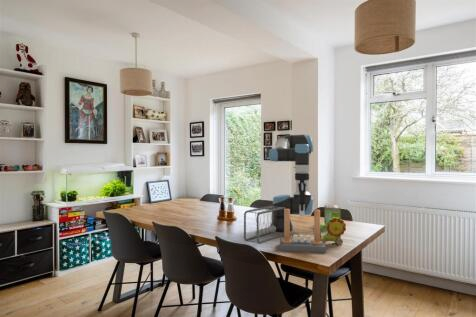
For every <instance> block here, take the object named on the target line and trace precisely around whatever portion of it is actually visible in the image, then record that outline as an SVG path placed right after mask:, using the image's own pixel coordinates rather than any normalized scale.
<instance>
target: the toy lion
mask: <svg viewBox="0 0 476 317" xmlns="http://www.w3.org/2000/svg"><path fill="white" fill-rule="evenodd" d="M346 226H347V224H346V223H345V221H344V220H343V219H341V217H340V218H335V217H332V218H330V219H328V221H327V222H326V224H324V223H323V224H321V225H320V241H324V243H325V244H326V242H333V243H335V244H336V245H337V246H341V245H343V242H344V241H343V239H342V237H341V236H343V235H344V234H345V232H346V230H347V228H346ZM324 229H326V231H327V233H325V234H324V235H323V236H322V231H323V230H324Z"/></svg>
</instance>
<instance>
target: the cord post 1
mask: <svg viewBox="0 0 476 317" xmlns="http://www.w3.org/2000/svg"><path fill="white" fill-rule="evenodd" d="M290 219H291V214H290V209H284V232H283V233H284V235H283V236H284V237H283V239H284V240H282V242H283V243H286V244H289V243H292V240H293V239H290V238H291V234H290V233H291V231H290Z"/></svg>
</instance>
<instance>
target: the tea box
mask: <svg viewBox="0 0 476 317" xmlns="http://www.w3.org/2000/svg"><path fill="white" fill-rule="evenodd" d="M323 212H324V217H323V218H324V221H323V225H324V224H326V222H327V221H328V219H330V218H332V217H335V218H340V219H341V207H340V205H338V204H324V211H323Z"/></svg>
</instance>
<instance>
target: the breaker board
mask: <svg viewBox="0 0 476 317" xmlns="http://www.w3.org/2000/svg"><path fill="white" fill-rule="evenodd" d="M282 240H284V238H283V239H282V238H281V239H279V244H278V245H279V246H278V248H279V249H278V250H279V251H281V252H298V253H299V252H300V253H302V252H303V253H319V254H320V253H321V254H322V253H324V254H326V253H327V245H326V242H325V243H324V241H322V244H321V245H315V244H312V241H314V239H313V240H311V243H299V242H294V239H291V240H292V243H289V244H286V243H283V242H282ZM306 241H307V239H306Z"/></svg>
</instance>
